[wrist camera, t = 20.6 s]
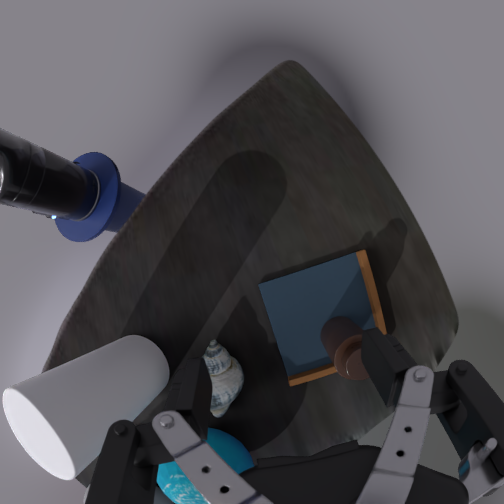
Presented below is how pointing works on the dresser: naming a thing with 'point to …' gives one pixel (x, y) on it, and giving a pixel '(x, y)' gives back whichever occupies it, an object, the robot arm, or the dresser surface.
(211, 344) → the seashell
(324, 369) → the corner mat
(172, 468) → the decorative orb
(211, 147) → the dresser surface
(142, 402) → the tall pillar cylinder
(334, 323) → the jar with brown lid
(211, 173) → the dresser surface
